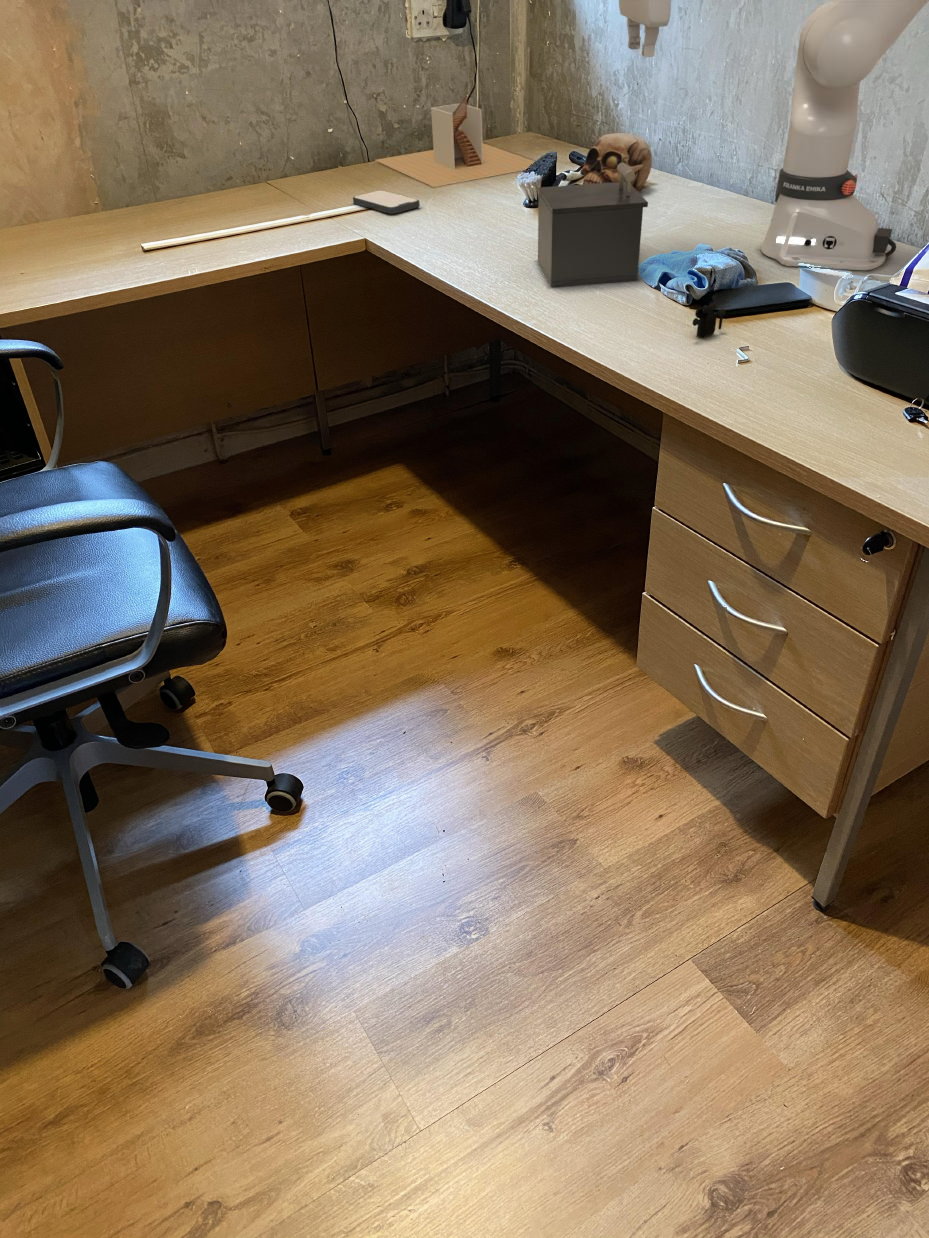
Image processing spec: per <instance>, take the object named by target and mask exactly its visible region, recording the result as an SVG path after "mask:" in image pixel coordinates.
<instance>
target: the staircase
mask: <svg viewBox="0 0 929 1238" xmlns="http://www.w3.org/2000/svg"><path fill="white" fill-rule="evenodd" d="M467 97H468V96H467V92H465V93H464V97H463V98H462V99H461V101H460V103H452V104H446V105H440V106H433V107H430V116H431V131H432V132H431V133H432V147H433V149H432V150H433V161H434V162H435V163H438V164H440V165H442V166H445V167H447V168H450V169H452V170H455V169H456V161H455V159H457V158H462V159H463V161H464V163H465V165H466V166H467V167H469V166H473V165H479V164H480V165H483V164H484V144H485V142H483V110H482V109H483V108H482V109H481V108H478V107H475V106H471V105H469V104H468V102H467V101H468V98H467Z"/></svg>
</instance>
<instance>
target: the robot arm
mask: <svg viewBox="0 0 929 1238" xmlns="http://www.w3.org/2000/svg"><path fill="white" fill-rule="evenodd" d="M928 2H929V0H832V1H828V2H826V3H824V4H822V5H821V6H819V7H817V8H816V9H815V10H814V11H813V12H812V13H811V14H810V15H809V17H808V18H807V20H806V21H805V22H804V24H803V27H802V29H801V31H800V35H799V40H798V47H797V54H796V62H795V70H794V78H793V90H792V99H791V112H790V120H789V128H788V133H787V139H786V146H785V150H784V151H785V152H784V156H783V164H782V168H780V169H779V173H778V176H777V181H776V185H775V186H776V187H775V193H774V202H775V204H774V209H773V213H772V216H771V219H770V221H769V222H770V223H769V225H768V229H767V231H766V234H765V236H764V239H763V241H762V243H761V245H760V247H759V250H760V251H761V253H762V254H763V255H765V256H767V257H769V258H771V259H773V260H776V261H777V262H778V263H780V264H781V266H782V265H783V266H787V267H798V264H799V263H804V264H810V265H814V266H821V267H828V268H827V269H832V268H833V269H834V270H848V271H849V270H851V271H871V270H875V269H877V268H879V267H880V266H882V265H883V264H884V263H885V261H886V260H887V258H888V257H890V256H891V255H893V254H894V253H895V252H896V250H897V244H896V242H895V241H894V240H893V239H891V236H892V231H893V229H892V228H884V227H879V225H878V220H877V218H876V217H877V216H875V215H874V213H872V211H870V210H869V209H868V208H867V207H866V205H864V204H863V203H862V202H861V201H860V200H859V199H858V198H857V197H856V196H855V195H854V194H855V191H856V187H857V183H858V174H857V173H855V175H854V174H853V173H852V172H851V171H849V170H848V167H849V163H850V158H851V153H852V149H853V143H854V137H855V133H856V128H857V125H858V105H859V95H860V87H861V86H860V85H861V82H862V81H863V80H864V79H865V78H866V77H868V76H869V74H870V73H871V72H872V71H873V69H874V67H875V66H876V65H877V63H878V61H879V60H881V58H882V57H883V56H884V54H886V52H887V51H888V50H889V49H890V48H891V47H892V46H893V44H894V43H895V41H897V39H898V38H900V36H901V35H902V33H903V32H904V31H905V30H906V28H907V27H908V26H909V25H910V23H911V22H912V21H913V20H914V18H915V17H916V16H917V15H918V13H920V12H921V10H923V7H925V6H926V5H927V4H928ZM618 9H619V14H620V15H621V16H623V17H625V18H627V19H626V27H627V36H628V41H627V43H628V44H627V48H628V49H630V50H632V51H634V50H640V48H641V55H642V56H643V57H644V58H653V57H654V56H655V55H656V54H655V52H656V44H657V40H658V37H659V34H660V28H663V27H668V25H669V22H670V18H671V10H672V0H618ZM641 25H642V26H644V28H643V29H644V31H643V33H644V38H643V43H642V45H641V41H642V40H641V39H642V37H641ZM641 46H642V47H641ZM889 246H890V250H888V247H889ZM833 269H832V270H833Z"/></svg>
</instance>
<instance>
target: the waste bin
mask: <svg viewBox="0 0 929 1238" xmlns="http://www.w3.org/2000/svg"><path fill="white" fill-rule="evenodd" d="M537 202H538V203H537V204H538V209H537V210H538V213H537V214H538V218H537V219H538V221H537V227H538V228H537V263H538V264H539V267H540V268H541V271H542V272H543V274H544V276H545V278H546V280H547V282H548V285H549V286H550V287H551V288H557V287H568V286H569V287H570V286H580V285H581V286H583V285H594V284H595V285H596V284H607V283H618V282H619V283H620V282H631V281H638V280H639V279H638V278H639V265H640V253H641V252H640V251H641V239H642V225H643V213H644V207H641V208H627V209H613V210H598V211H584V212H570V213H556V214H552V212H551V210H550V209H549V207H548V206H547V204H546V203H545V201H544V200H543V198H542V196H541V195H540V193H539V192H538V201H537Z"/></svg>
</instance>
